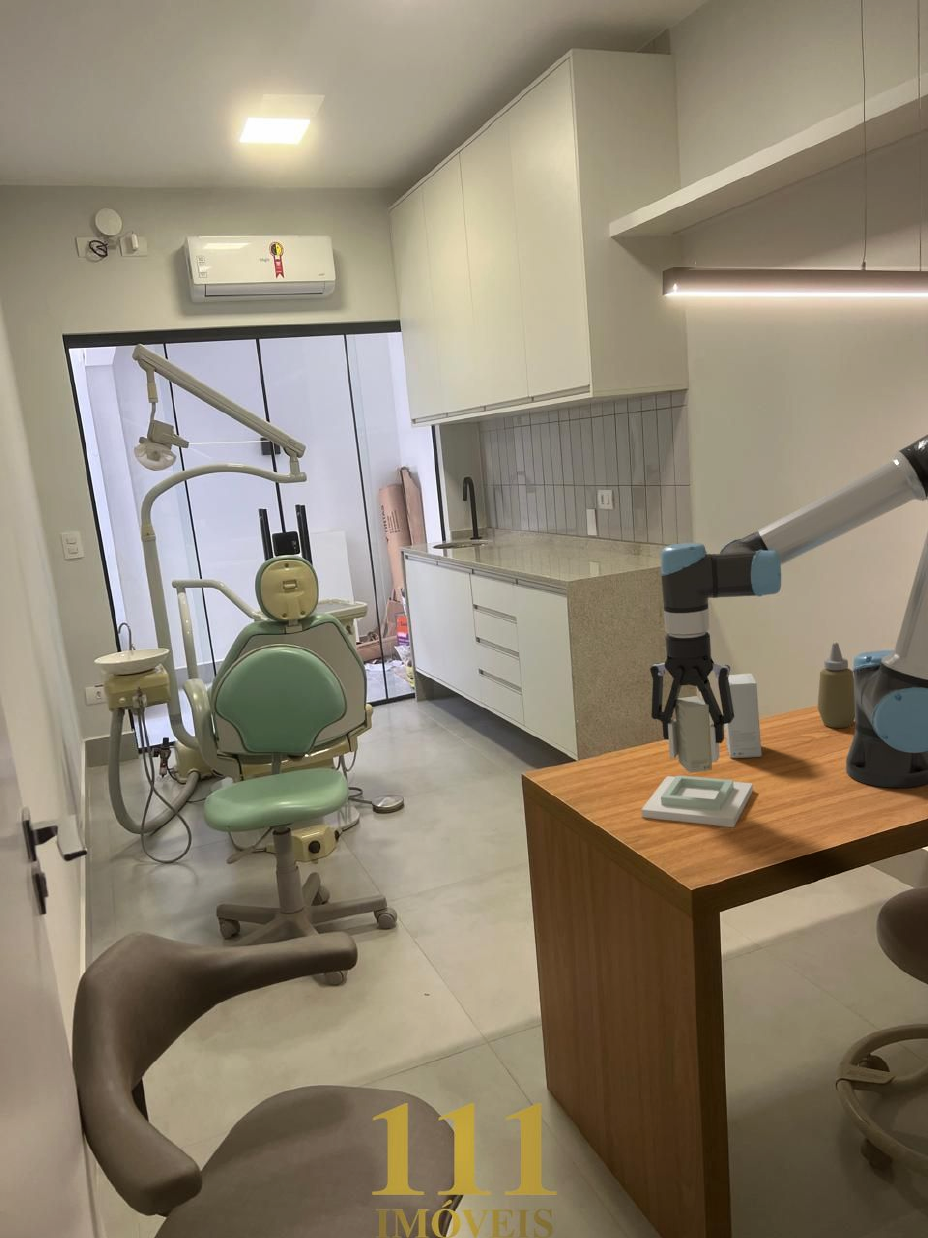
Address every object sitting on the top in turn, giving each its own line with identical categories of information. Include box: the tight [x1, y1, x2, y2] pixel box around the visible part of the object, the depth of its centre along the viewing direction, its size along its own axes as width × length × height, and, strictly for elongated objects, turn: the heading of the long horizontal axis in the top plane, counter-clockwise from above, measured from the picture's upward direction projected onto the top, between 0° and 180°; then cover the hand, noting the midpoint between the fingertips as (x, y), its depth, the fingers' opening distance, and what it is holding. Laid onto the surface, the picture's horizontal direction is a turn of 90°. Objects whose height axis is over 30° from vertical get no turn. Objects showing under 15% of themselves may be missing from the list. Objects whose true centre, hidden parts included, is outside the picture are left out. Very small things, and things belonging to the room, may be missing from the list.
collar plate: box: [641, 775, 754, 828], centre depth 162 cm, size 16×16×3 cm
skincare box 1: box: [674, 695, 713, 774], centre depth 159 cm, size 6×4×12 cm
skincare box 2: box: [724, 673, 762, 759], centre depth 183 cm, size 8×7×16 cm
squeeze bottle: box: [817, 642, 855, 729], centre depth 192 cm, size 8×8×18 cm
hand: (694, 757), depth 160 cm, fingers closed on skincare box 1, 7 cm apart
